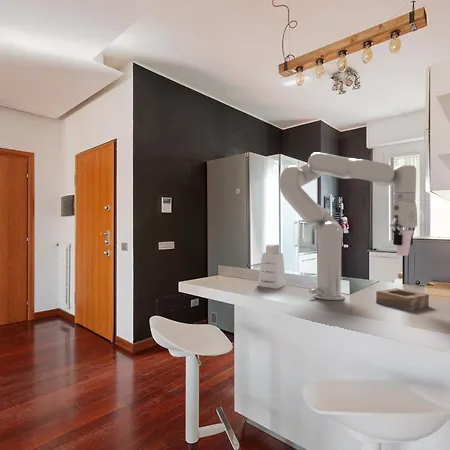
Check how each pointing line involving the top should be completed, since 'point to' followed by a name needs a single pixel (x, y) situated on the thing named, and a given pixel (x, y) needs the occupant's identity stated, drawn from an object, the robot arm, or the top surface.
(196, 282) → the top surface
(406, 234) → the smoothie
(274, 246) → the grater
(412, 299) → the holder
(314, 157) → the robot arm
